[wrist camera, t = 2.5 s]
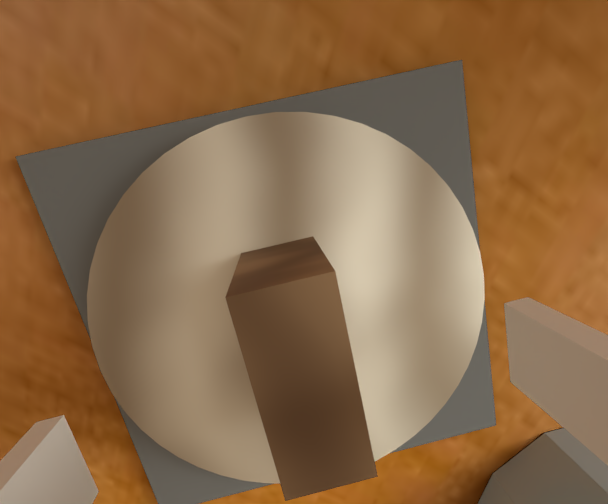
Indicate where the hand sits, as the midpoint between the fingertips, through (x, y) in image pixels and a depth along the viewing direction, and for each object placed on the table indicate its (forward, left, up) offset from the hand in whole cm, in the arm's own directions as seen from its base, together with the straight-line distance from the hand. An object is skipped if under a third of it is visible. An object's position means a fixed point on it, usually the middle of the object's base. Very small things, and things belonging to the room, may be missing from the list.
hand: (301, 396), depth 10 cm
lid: (0, 0, -6) cm, 6 cm away
